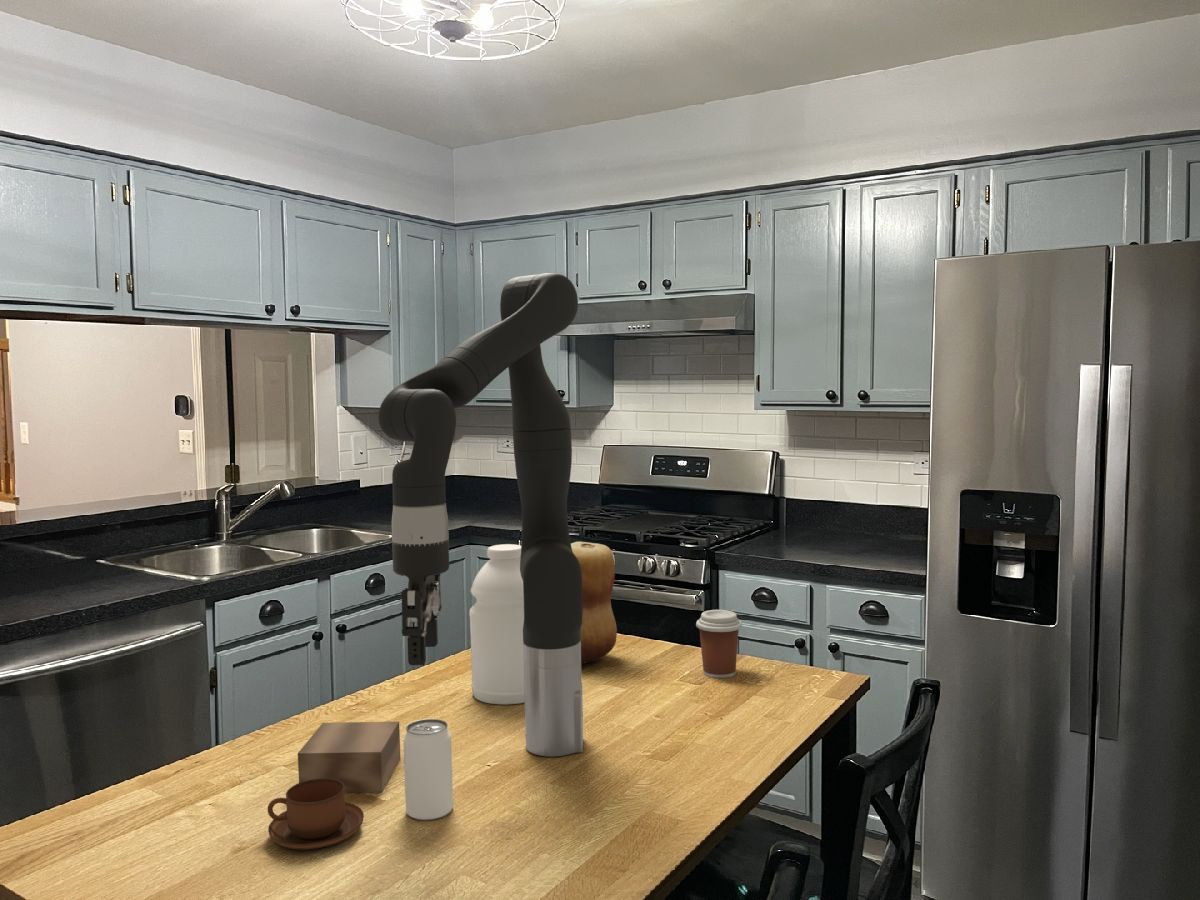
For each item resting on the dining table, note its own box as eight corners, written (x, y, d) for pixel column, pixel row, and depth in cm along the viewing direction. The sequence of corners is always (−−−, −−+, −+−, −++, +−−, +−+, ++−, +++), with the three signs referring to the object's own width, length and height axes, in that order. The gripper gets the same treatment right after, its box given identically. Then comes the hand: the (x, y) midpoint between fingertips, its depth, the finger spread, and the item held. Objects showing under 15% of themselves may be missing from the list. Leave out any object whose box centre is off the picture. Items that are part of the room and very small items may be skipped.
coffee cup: (745, 680, 182) (745, 619, 181) (698, 680, 182) (698, 620, 181) (739, 665, 191) (738, 607, 190) (694, 666, 191) (694, 608, 190)
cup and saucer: (272, 867, 115) (270, 818, 114) (265, 825, 126) (263, 780, 125) (371, 846, 120) (369, 799, 119) (356, 807, 131) (354, 764, 130)
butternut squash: (618, 671, 189) (616, 548, 187) (552, 672, 188) (549, 550, 186) (616, 651, 202) (614, 537, 200) (554, 652, 202) (551, 538, 200)
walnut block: (400, 758, 147) (399, 721, 146) (382, 792, 135) (380, 752, 134) (324, 759, 147) (322, 722, 146) (299, 793, 135) (297, 753, 134)
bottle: (560, 688, 179) (557, 543, 176) (516, 711, 167) (512, 556, 165) (502, 677, 186) (498, 538, 184) (456, 697, 174) (451, 549, 172)
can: (443, 823, 125) (440, 736, 124) (398, 819, 126) (394, 733, 125) (460, 802, 131) (457, 718, 130) (416, 798, 133) (414, 716, 132)
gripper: (438, 546, 119) (441, 671, 120) (456, 528, 133) (459, 640, 134) (379, 547, 119) (383, 671, 120) (404, 529, 133) (407, 640, 134)
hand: (423, 654), depth 127 cm, fingers open, 8 cm apart
